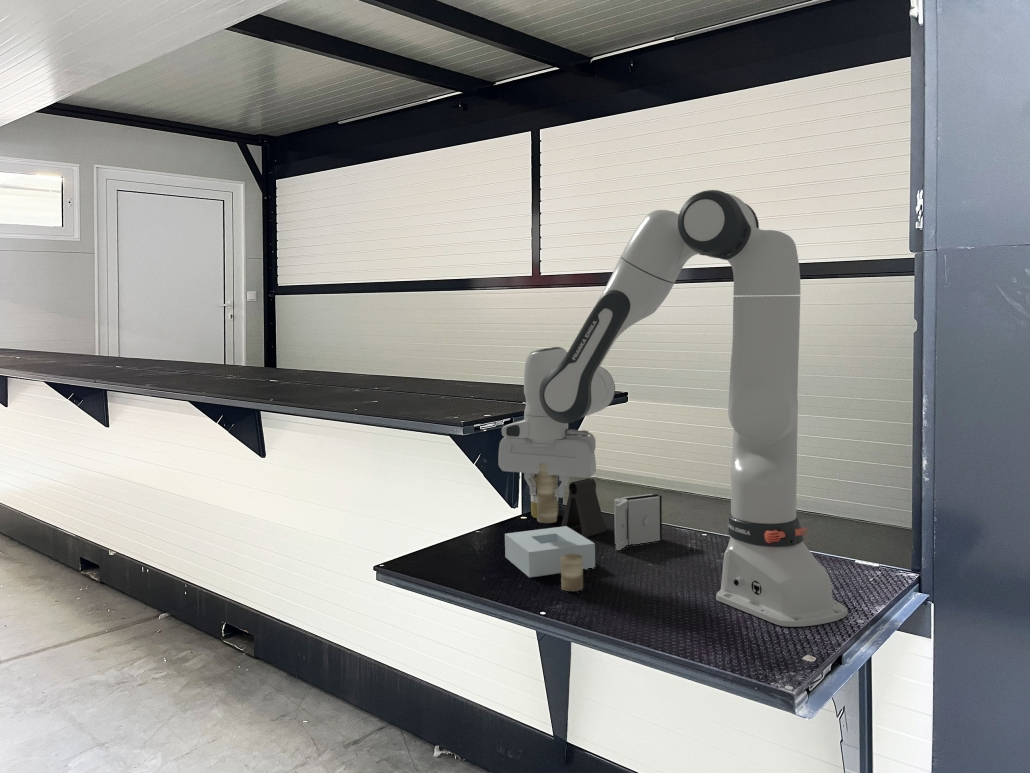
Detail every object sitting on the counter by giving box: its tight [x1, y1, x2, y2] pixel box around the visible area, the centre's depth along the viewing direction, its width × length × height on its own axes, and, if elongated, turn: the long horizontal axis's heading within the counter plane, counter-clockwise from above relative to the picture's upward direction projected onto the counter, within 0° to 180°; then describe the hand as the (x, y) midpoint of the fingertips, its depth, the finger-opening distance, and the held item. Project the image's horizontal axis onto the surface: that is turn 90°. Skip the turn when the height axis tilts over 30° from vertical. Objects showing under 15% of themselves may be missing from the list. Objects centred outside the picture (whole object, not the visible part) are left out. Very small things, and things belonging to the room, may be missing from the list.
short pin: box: [560, 554, 584, 592], centre depth 148 cm, size 4×4×6 cm
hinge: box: [613, 493, 663, 551], centre depth 175 cm, size 14×5×10 cm, turn 125°
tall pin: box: [536, 464, 558, 524], centre depth 162 cm, size 4×4×12 cm
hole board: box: [504, 526, 596, 578], centre depth 163 cm, size 14×14×5 cm
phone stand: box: [560, 477, 607, 539], centre depth 185 cm, size 9×6×12 cm, turn 40°
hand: (546, 495), depth 162 cm, fingers closed on tall pin, 4 cm apart
